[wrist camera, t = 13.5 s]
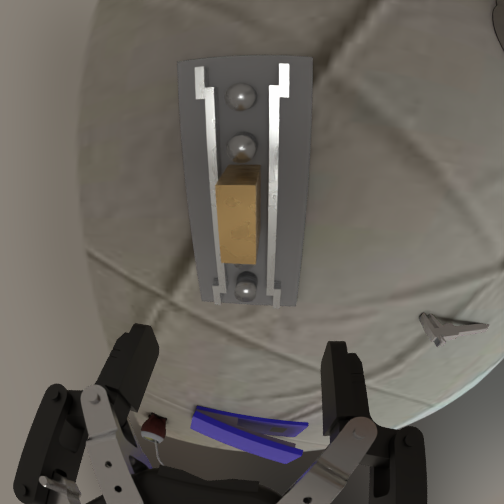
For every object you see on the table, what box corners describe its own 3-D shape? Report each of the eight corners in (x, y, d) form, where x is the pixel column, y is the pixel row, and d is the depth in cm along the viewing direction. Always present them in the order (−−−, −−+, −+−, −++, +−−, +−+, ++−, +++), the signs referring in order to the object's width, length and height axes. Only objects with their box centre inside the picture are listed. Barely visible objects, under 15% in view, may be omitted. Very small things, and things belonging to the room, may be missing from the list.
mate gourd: (142, 410, 64) (128, 453, 51) (164, 413, 62) (152, 460, 50) (154, 420, 68) (142, 461, 55) (176, 424, 66) (165, 467, 53)
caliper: (417, 315, 35) (430, 347, 29) (421, 310, 34) (435, 342, 29) (485, 327, 36) (497, 351, 30) (488, 323, 35) (501, 347, 30)
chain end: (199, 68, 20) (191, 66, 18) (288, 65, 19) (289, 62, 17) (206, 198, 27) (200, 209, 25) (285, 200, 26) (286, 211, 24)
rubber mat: (180, 62, 20) (177, 61, 20) (311, 58, 19) (312, 57, 19) (203, 296, 35) (201, 301, 35) (295, 302, 34) (295, 306, 34)
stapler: (293, 433, 63) (292, 464, 54) (193, 417, 61) (185, 449, 53) (309, 420, 56) (309, 455, 48) (195, 402, 55) (186, 438, 47)
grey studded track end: (206, 198, 27) (200, 209, 25) (285, 200, 26) (286, 211, 24) (217, 296, 34) (212, 310, 32) (279, 300, 33) (279, 315, 31)
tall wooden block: (231, 229, 29) (221, 262, 24) (228, 164, 25) (215, 185, 20) (260, 230, 28) (255, 264, 23) (260, 164, 25) (255, 185, 20)
